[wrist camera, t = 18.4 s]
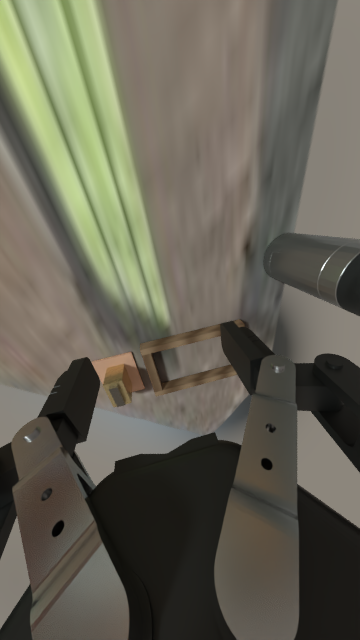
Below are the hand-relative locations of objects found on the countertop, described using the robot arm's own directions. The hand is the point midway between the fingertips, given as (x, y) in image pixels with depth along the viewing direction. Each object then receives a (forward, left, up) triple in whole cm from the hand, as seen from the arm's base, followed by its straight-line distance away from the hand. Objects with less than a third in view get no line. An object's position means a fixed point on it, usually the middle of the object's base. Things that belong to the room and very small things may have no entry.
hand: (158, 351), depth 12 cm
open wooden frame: (-6, +25, -28) cm, 38 cm away
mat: (+13, +25, -28) cm, 40 cm away
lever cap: (+13, +25, -28) cm, 39 cm away
